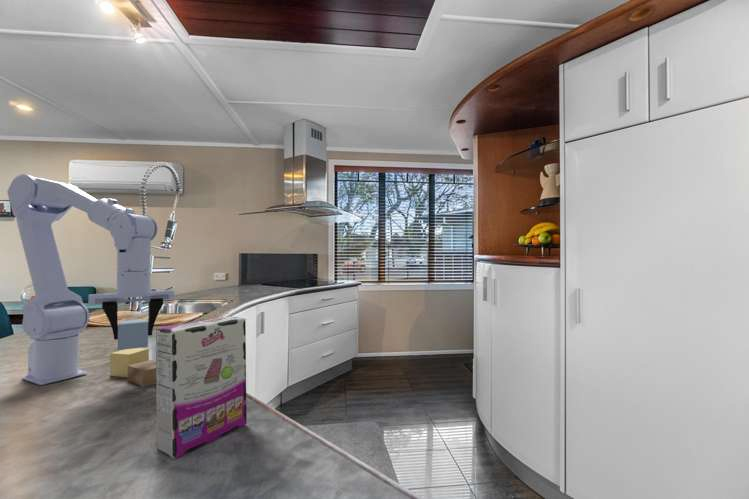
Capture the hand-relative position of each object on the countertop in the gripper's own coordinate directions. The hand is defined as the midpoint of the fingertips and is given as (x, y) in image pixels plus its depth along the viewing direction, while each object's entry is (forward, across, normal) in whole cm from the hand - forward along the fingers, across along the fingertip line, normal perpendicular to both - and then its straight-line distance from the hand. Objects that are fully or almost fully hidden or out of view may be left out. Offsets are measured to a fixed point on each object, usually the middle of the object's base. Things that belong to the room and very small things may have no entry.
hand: (133, 336), depth 72 cm
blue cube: (+2, 0, 0) cm, 2 cm away
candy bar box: (+10, +8, -33) cm, 35 cm away
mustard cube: (+10, 0, +8) cm, 13 cm away
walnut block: (+10, +4, 0) cm, 11 cm away
